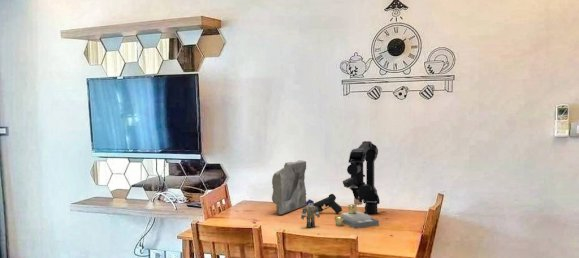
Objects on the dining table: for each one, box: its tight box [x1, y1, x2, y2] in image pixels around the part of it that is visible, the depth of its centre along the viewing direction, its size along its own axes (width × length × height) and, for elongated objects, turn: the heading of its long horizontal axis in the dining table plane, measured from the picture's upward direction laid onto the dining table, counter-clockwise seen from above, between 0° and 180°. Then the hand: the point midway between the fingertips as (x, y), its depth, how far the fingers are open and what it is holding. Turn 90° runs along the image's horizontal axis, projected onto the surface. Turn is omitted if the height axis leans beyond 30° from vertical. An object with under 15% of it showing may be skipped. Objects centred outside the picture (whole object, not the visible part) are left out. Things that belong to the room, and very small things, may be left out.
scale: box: [340, 210, 380, 229], centre depth 252 cm, size 15×19×4 cm
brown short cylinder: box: [353, 197, 363, 206], centre depth 250 cm, size 4×4×3 cm
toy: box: [300, 199, 321, 229], centre depth 244 cm, size 10×4×15 cm, turn 114°
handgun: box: [313, 193, 343, 215], centre depth 276 cm, size 2×17×12 cm, turn 78°
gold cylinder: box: [334, 215, 345, 227], centre depth 247 cm, size 4×4×4 cm
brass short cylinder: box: [348, 203, 358, 214], centre depth 257 cm, size 4×4×4 cm
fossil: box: [271, 159, 307, 215], centre depth 287 cm, size 34×9×30 cm, turn 153°
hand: (358, 201), depth 250 cm, fingers closed on brown short cylinder, 4 cm apart
